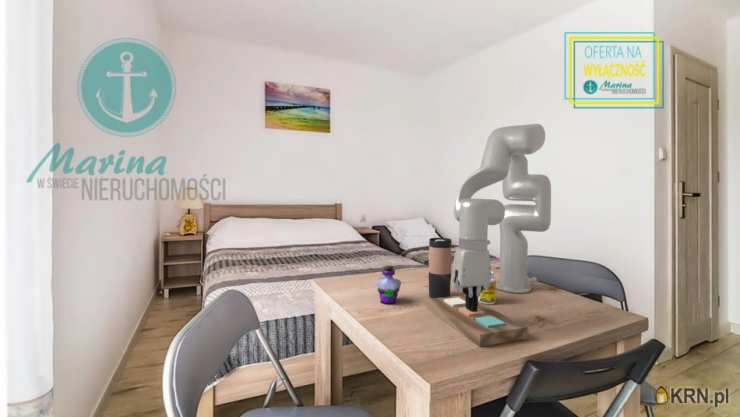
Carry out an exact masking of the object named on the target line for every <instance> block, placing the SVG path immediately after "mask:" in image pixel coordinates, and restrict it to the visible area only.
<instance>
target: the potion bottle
mask: <svg viewBox="0 0 740 417" xmlns="http://www.w3.org/2000/svg"><path fill="white" fill-rule="evenodd" d="M381 272H382V273H381V274H382V275H383V277H382V278H379V279H375V280H376V281H375V282H376V287H377V292H378V293H379V299H380V304H383V305H388V306H389V305H392V306H393V305H395V304H397V300H398V295H399V292H400V289H401V285H402V282H401V280H400V279H397V278H394V277H393V276H394V275H396V271H395V269H394V265H384V266H383V268H382V271H381Z"/></svg>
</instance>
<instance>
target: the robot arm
mask: <svg viewBox="0 0 740 417" xmlns="http://www.w3.org/2000/svg"><path fill="white" fill-rule="evenodd" d="M545 142H546V130H545V128H544V126H543V125H542V124H540V123H531V124H521V125H509V126H501V127H498V128H496V129H494V130H492V131H491V133H490V134H489V136H488V138H487V140H486V145H485V147H484V150H483V151H484V152H483V155H482V159H481V162H480V166H479V168H478V169H477V170H475V171H474V172H473V173H471V174H470V175H469V176H468V177H467V179H465V180H464V181H463V182H462V184H461V186H460V188H458V191H457V195H456V198H455V203H454V208H453V215H454V218H455V219H456V221H457V222H459V226H458V227H459V228H458V229H459V230H458V231H459V234H458V248H456V250H455V253H454V257H453V263H452V270H451V280H452V283H453V284H454V287H453V288H454V290H455V291H458V292H461V293H463V295H466V299H465V306H466V309H468V310H470V311H471V312H474V311H477V307H478V302H479V301H478V297H479V296H480V293H481V292H482V291H483V289H486V288H489V283H490V281H491V271H492V263H491V262H492V261H491V256H490V255H491V254H490V251H489V249H488V245H490V244H491V241H490V240H489V239H488V234H489V233H488V231H489V230H488V229H489V228H488V226H496V225H498V226H499V234H500V235H499V237H500V238H499V239H500V240H499V270H498V271H499V273H498V274H499V276H498V281H496V290H500V291H503V292H505V293H512V294H514V293H515V294H526V293H529V292H531V290H532V287H531V286H530V283H531V284H532V283H533V284H534V283H537V281H538V279H537V277H535V276H533V277H530V276H528V252H529V251H528V250H529V249H528V248H529V243H528V240H527V238H526V237H525V235H524V233H523V232H525V231H526V232H537V233H543V232H546V231H548V230H549V229H550V228H551V221H552V220H551V219H552V184H551V181H550V178H549V176H547V175H546V174H539V173H538V174H536V173H535V174H529V168H528V166H529V164H528V162H529V161H528V158H527V157H526V155H527V156H528V155H533V154H534V153H536V152H537V151H539V150H541V148H543V146H544V144H545ZM501 181H502V195H503V197H504V199H505V200H508V201H514V202H515V201H516V202H517V201H518V202H534V203H535V204H521V203H520V204H518V203H517V204H516V203H510V204H505V205H504V204H503V202H501V201H500V200H498V199H495V198H494V199H493V198H492V199H490V198H472V197H473V196H474V195H476V193H477V192H478V191H481V190H482V189H484V188H488V187H489V186H491V185H495V184H498V183H499V182H501Z"/></svg>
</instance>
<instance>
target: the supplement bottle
mask: <svg viewBox="0 0 740 417" xmlns="http://www.w3.org/2000/svg"><path fill="white" fill-rule="evenodd" d="M496 282H497V278H496V277H495V271H492V270H491V281H490V283H489V288H486V289H483V291H482V292H481V293H480V296H479V297H478V302H480V303H482V304H484V305H493V304H495V303H496V302H497V301H496V300H497V288H496Z"/></svg>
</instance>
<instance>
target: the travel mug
mask: <svg viewBox="0 0 740 417" xmlns="http://www.w3.org/2000/svg"><path fill="white" fill-rule="evenodd" d="M428 240H429V241H428V242H429V244H428V296H429V297H430V299H433V298H442V297H451V296H450V295H451V280H452V239H451V238H449V237H448V238H447V237H430V238H429V239H428Z"/></svg>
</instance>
